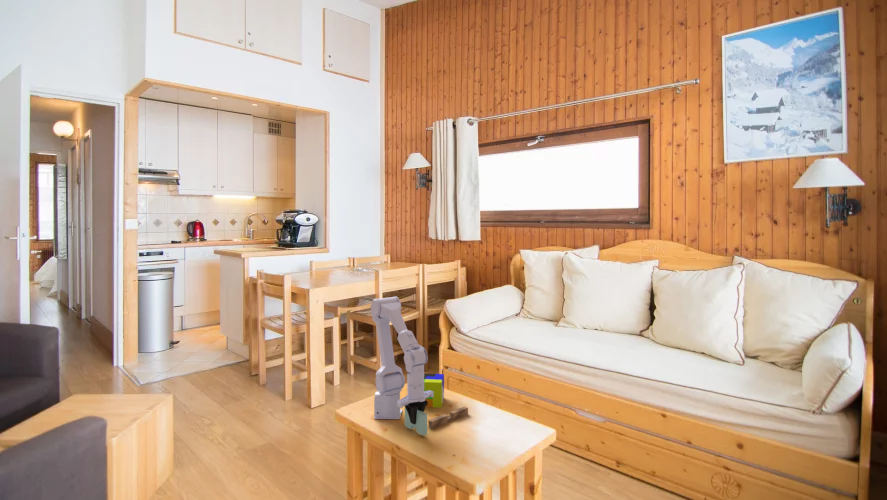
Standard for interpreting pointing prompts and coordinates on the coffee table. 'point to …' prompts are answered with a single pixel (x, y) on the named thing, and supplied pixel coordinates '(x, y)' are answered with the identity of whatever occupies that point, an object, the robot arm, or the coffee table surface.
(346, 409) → the coffee table surface
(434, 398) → the puzzle toy
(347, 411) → the coffee table surface
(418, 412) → the teal plate
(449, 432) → the coffee table surface
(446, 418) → the walnut rail
